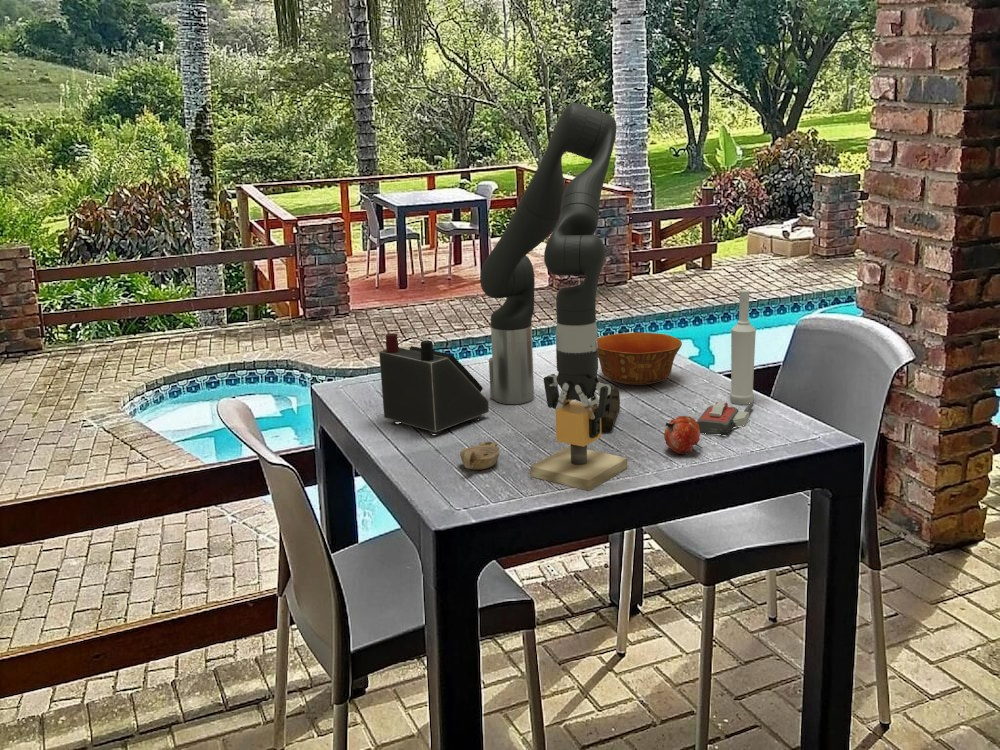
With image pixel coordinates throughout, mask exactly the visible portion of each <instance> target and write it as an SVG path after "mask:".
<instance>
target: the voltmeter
mask: <svg viewBox="0 0 1000 750" xmlns="http://www.w3.org/2000/svg"><path fill="white" fill-rule="evenodd" d="M385 346H386V347H385V349H383V350H379V351H378V354H379V367H380V377H381V378H380V380H381V391H382V392H381V394H382V406H383V418H384V419H388V420H391V421H392V422H393V423H394V422H401V423H402V424H405V425H408V426H412V427H415V428H418V429H419V428H420V429H423V430H426V431H429V432H430V434H431V433H432V434H440V433H441V434H442V431H443V430H445V429H448V428H451V427H453V426H456V425H459V424H461V423H464V422H466V421H469V420H471V419H472V420H471V421H479V420H480V419H481V416H482V415H485V414H488V413H490V401H489V400H488V399H487V397H485V396H484V394H483V393H482V390H483V389H484V387H483V386H482V385H481V384H480V383H479V381H478V380H477V379H476V378H475V377H474V376H473V375H472V373H470V371H468V369H466V367H465V366H464V365H463V364H462V363H461V362H460V361H459V360H458V359H457V358H456V357H455V356H454V355H453V354H451V353H446V352H443V351H439V350H438V351H437V350H434V346H433V341H432V340H422V341H420V347H418V346H413V345H412V346H410V347H409V349H408V348H403V347H400V346H399V340H398V333H387V334H386V335H385ZM478 419H479V420H478ZM441 434H440V435H441Z"/></svg>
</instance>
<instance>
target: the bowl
mask: <svg viewBox="0 0 1000 750" xmlns="http://www.w3.org/2000/svg"><path fill="white" fill-rule="evenodd" d="M682 344H683V342H682V340H681V339H679V338H677V337H675V336H672V335H669V334H665V333H658V332H657V333H655V332H637V331H636V332H623V333H615V334H607V335H602V336H600V337H599V336H598V362H599V364H600V371H601V373H602V374H603V376H604V377H605V378H607V379H609V380H611V381H612V382H613V381H614V382H617V383H620V384H624V385H629V386H630V385H631V386H632V385H633V386H634V385H635V386H640V385H641V386H643V385H651V384H656V383H659V382H663V381H665V380H666V379H667V378H669V377H670V375H671V372H672V368H673V365H674V360H675V359H676V356H677V354H678V352H679V351H680V349H681V347H682Z"/></svg>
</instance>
